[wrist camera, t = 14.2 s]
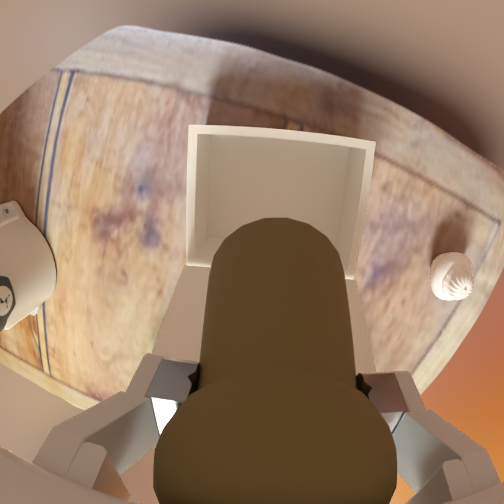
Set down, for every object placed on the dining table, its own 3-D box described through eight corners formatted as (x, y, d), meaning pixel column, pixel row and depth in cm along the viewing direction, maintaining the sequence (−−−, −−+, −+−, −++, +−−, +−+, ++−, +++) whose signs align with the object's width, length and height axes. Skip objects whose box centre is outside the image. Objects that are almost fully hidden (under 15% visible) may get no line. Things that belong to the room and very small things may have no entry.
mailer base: (201, 240, 37) (186, 264, 30) (205, 125, 32) (188, 124, 26) (340, 252, 36) (353, 279, 30) (356, 138, 32) (375, 141, 25)
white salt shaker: (467, 259, 35) (494, 283, 29) (438, 294, 38) (461, 322, 31) (441, 233, 35) (469, 254, 28) (411, 271, 37) (433, 298, 30)
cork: (241, 193, 13) (136, 425, 3) (369, 253, 13) (495, 480, 3) (191, 309, 15) (104, 529, 5) (304, 353, 16) (318, 570, 5)
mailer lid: (184, 264, 30) (184, 271, 30) (142, 379, 19) (144, 385, 20) (356, 279, 29) (354, 285, 29) (381, 398, 19) (377, 403, 19)
